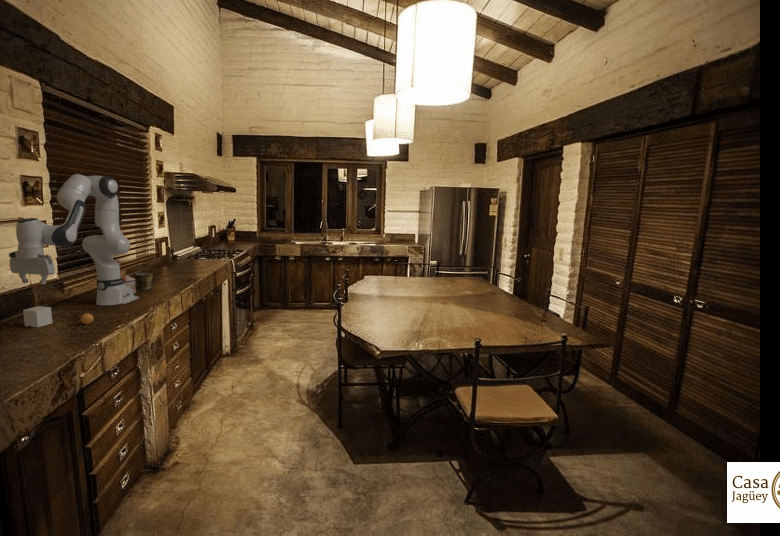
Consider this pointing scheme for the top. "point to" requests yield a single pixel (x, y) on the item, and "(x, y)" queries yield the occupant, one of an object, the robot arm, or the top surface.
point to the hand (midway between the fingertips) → (34, 283)
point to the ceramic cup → (144, 280)
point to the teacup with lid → (130, 283)
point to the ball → (86, 318)
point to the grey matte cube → (37, 316)
